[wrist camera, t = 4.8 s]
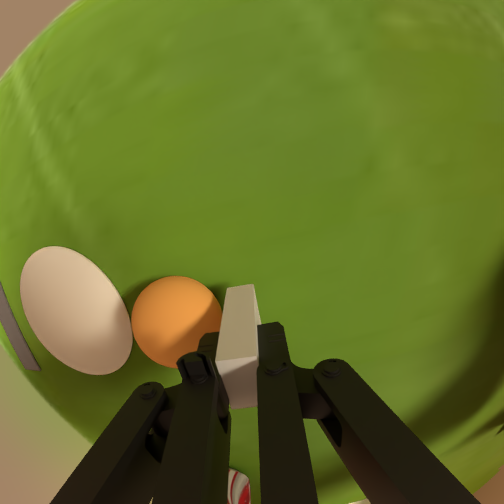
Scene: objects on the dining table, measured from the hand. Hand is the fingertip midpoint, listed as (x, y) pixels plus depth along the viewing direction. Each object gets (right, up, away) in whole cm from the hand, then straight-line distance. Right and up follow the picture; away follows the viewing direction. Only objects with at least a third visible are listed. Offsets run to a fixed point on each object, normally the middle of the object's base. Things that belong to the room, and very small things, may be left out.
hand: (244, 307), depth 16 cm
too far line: (-24, -4, +4) cm, 25 cm away
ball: (-4, -1, 0) cm, 4 cm away
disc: (-15, -2, +3) cm, 15 cm away
